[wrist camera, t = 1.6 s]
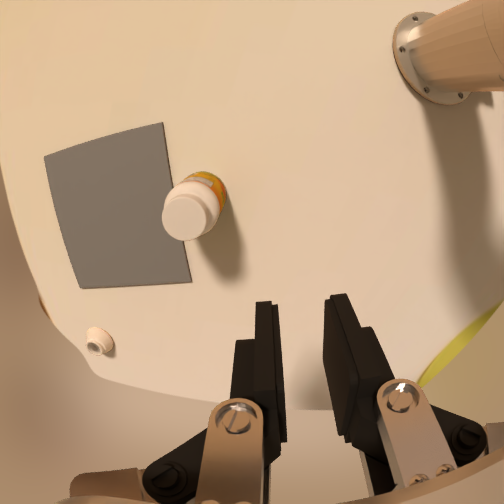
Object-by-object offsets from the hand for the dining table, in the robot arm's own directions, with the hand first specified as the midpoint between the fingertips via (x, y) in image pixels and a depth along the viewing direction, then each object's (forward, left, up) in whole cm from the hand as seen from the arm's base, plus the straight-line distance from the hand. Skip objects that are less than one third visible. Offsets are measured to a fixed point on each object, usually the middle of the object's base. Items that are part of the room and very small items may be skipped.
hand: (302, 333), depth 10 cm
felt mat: (+20, +1, -25) cm, 32 cm away
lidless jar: (+30, +21, -26) cm, 45 cm away
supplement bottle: (+8, 0, -25) cm, 27 cm away
